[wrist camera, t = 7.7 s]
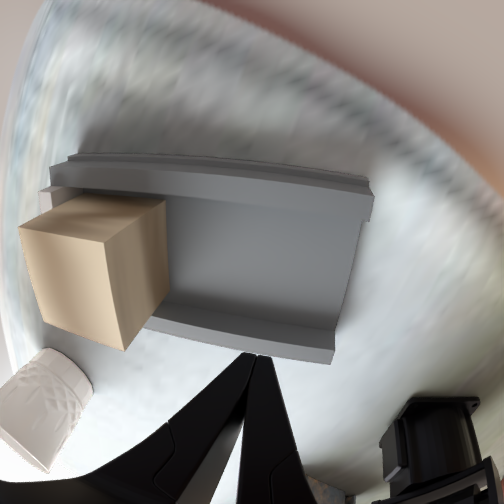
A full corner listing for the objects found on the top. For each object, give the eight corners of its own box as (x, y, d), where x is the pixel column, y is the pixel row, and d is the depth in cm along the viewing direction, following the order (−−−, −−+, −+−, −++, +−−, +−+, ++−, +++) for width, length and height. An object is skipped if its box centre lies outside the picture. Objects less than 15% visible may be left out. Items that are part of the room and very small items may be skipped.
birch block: (165, 199, 14) (103, 243, 10) (170, 290, 16) (124, 351, 12) (85, 192, 15) (17, 227, 11) (96, 274, 17) (44, 321, 13)
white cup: (70, 399, 28) (25, 462, 19) (26, 344, 25) (-30, 406, 16) (113, 402, 25) (64, 482, 16) (62, 338, 22) (-6, 417, 14)
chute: (366, 177, 13) (380, 197, 10) (329, 338, 17) (328, 382, 14) (76, 153, 15) (35, 167, 12) (94, 291, 19) (65, 319, 16)
